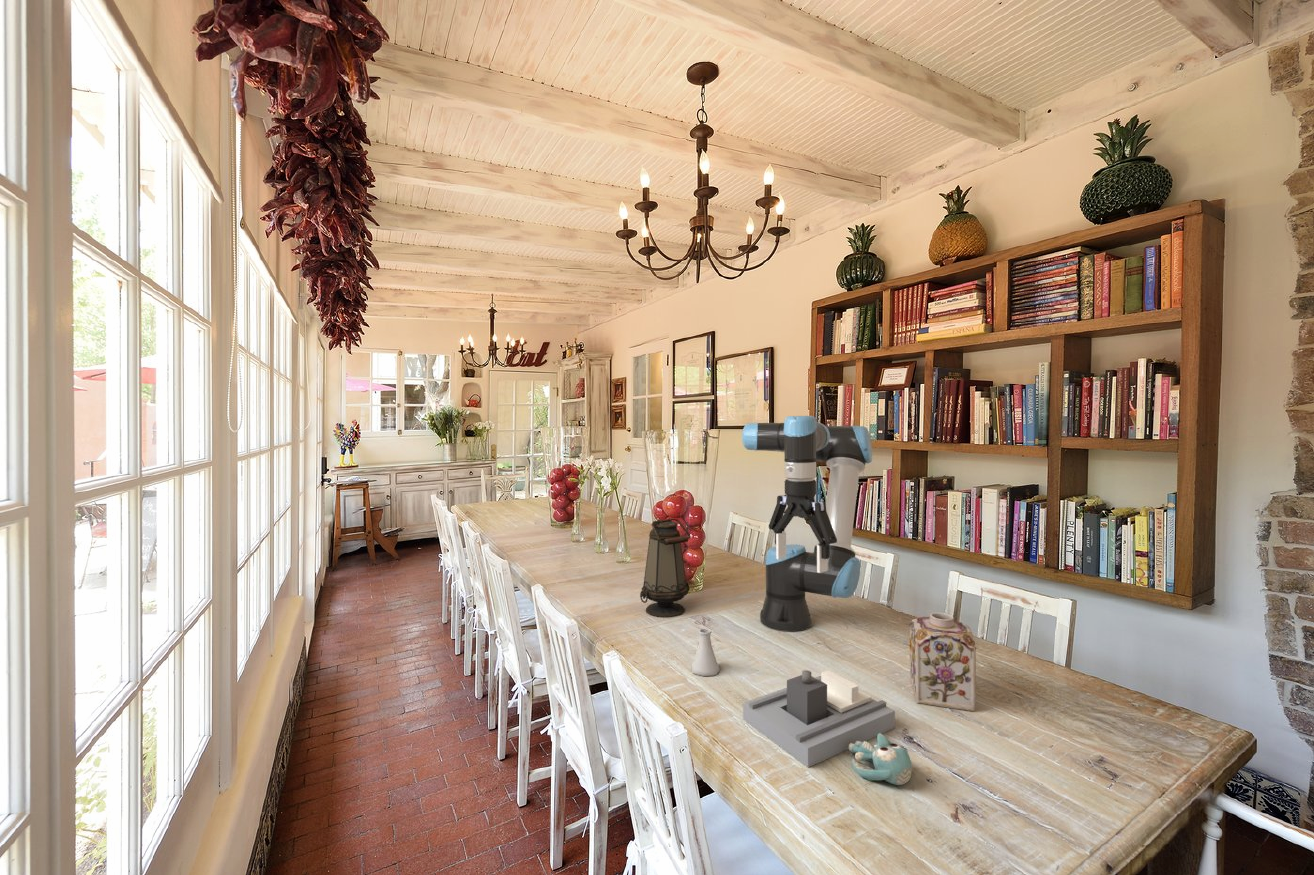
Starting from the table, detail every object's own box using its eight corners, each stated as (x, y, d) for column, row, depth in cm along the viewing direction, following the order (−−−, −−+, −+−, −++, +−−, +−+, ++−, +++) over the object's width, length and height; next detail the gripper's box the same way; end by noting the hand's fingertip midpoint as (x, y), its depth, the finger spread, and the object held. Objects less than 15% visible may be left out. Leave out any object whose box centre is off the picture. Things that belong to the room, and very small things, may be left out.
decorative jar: (965, 686, 124) (965, 609, 123) (977, 713, 113) (978, 628, 112) (908, 679, 128) (908, 604, 127) (914, 703, 117) (914, 621, 116)
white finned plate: (837, 682, 119) (837, 665, 118) (871, 700, 111) (871, 682, 111) (808, 693, 114) (808, 675, 114) (841, 712, 106) (841, 693, 106)
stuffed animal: (870, 714, 103) (925, 734, 93) (875, 754, 102) (932, 779, 92) (828, 729, 98) (881, 752, 88) (833, 771, 97) (888, 799, 87)
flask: (718, 678, 129) (718, 637, 129) (688, 675, 130) (688, 635, 130) (721, 665, 136) (721, 626, 136) (693, 662, 138) (692, 623, 137)
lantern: (673, 598, 187) (672, 512, 186) (701, 611, 174) (701, 518, 173) (628, 609, 176) (627, 518, 175) (655, 623, 164) (654, 525, 163)
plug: (786, 720, 109) (786, 670, 108) (806, 712, 112) (806, 663, 111) (807, 733, 104) (807, 681, 104) (827, 725, 107) (827, 674, 107)
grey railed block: (825, 689, 123) (825, 670, 123) (894, 727, 108) (894, 706, 108) (743, 719, 111) (743, 698, 111) (807, 767, 96) (807, 744, 95)
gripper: (754, 475, 140) (755, 555, 141) (829, 486, 119) (830, 580, 120) (775, 473, 144) (776, 551, 145) (852, 483, 122) (853, 574, 124)
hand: (800, 564), depth 132 cm, fingers open, 13 cm apart
